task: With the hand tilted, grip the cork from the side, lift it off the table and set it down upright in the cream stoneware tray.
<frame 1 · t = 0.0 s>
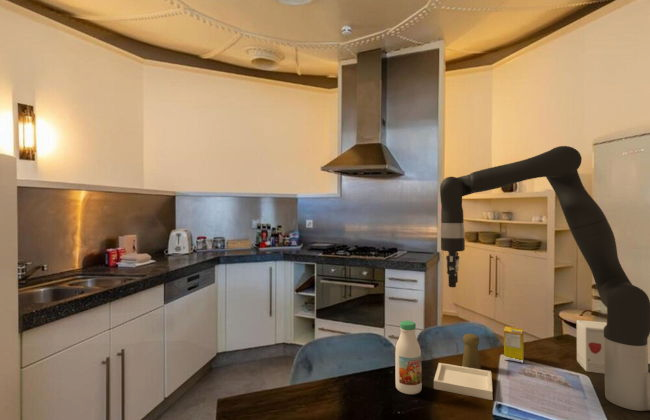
hand: (453, 284, 114), 29 cm above the table, tool pointing down, fingers open, 8 cm apart
supplement box: (514, 359, 124), on the table
supplement box 2: (596, 368, 116), on the table
milk bottle: (408, 389, 103), on the table
tray: (463, 383, 106), on the table
cork: (471, 367, 118), on the table
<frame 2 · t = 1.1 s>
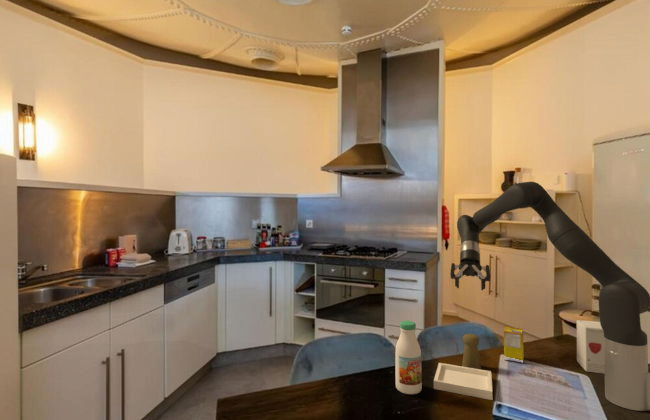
hand: (470, 288, 129), 25 cm above the table, tool tilted 45°, fingers open, 8 cm apart
nothing on the table moved.
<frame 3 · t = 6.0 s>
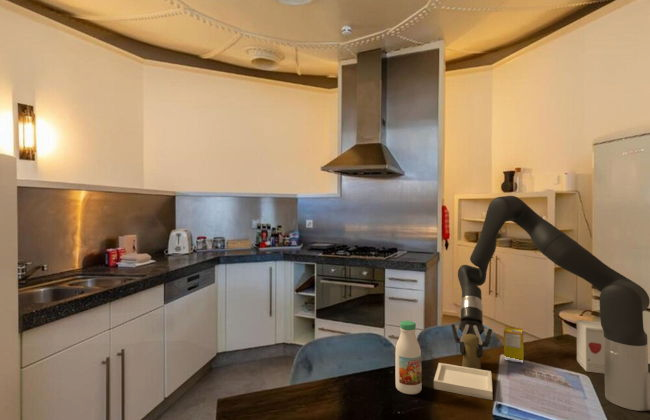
hand: (471, 355, 116), 5 cm above the table, tool tilted 45°, fingers closed on cork, 4 cm apart
cork: (471, 367, 118), on the table, touching gripper
everything else where it was.
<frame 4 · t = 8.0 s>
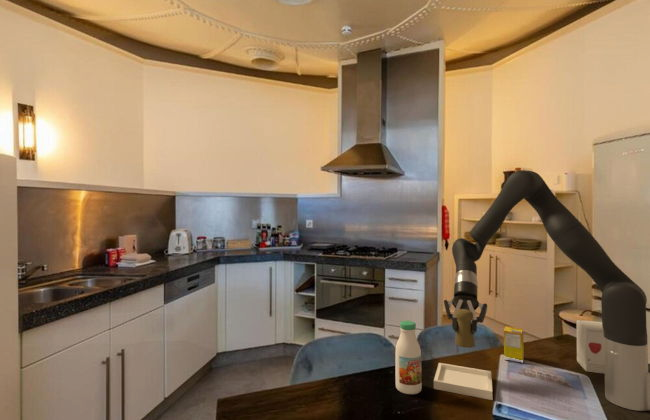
hand: (464, 331, 108), 16 cm above the table, tool tilted 45°, fingers closed on cork, 4 cm apart
cork: (464, 344, 110), point 11 cm above the table, touching gripper
everything else where it was.
when the fingers open (7 cm above the table, at t = 10.4 s): cork drops 1 cm, resting on tray.
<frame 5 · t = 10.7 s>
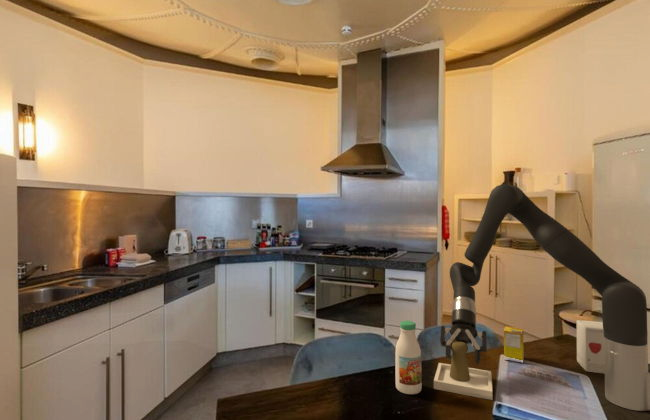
hand: (462, 361, 105), 7 cm above the table, tool tilted 45°, fingers open, 7 cm apart
cork: (459, 377, 108), point 1 cm above the table, touching gripper, tray
everything else where it was.
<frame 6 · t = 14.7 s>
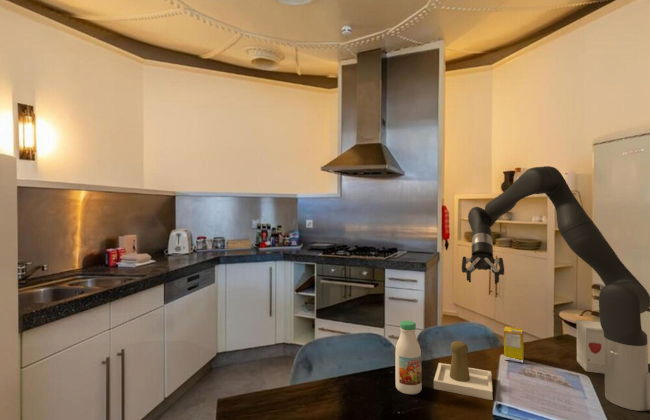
hand: (482, 281, 122), 29 cm above the table, tool tilted 45°, fingers open, 8 cm apart
cork: (459, 377, 108), point 1 cm above the table, touching tray
everything else where it was.
at the end: cork inside the target area on the tray (2.1 cm from its centre), point 0.8 cm above the tray's base; cork tilted 0°; the gripper is holding nothing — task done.
